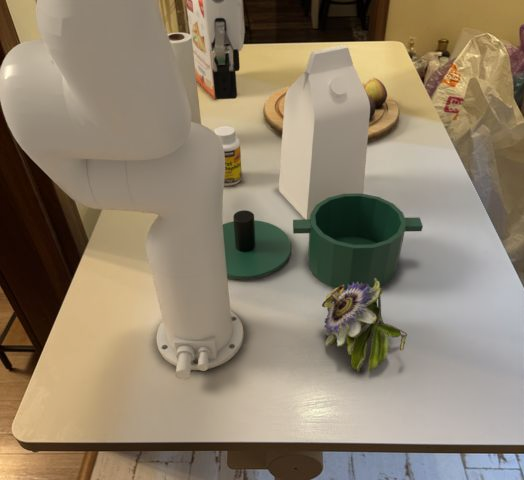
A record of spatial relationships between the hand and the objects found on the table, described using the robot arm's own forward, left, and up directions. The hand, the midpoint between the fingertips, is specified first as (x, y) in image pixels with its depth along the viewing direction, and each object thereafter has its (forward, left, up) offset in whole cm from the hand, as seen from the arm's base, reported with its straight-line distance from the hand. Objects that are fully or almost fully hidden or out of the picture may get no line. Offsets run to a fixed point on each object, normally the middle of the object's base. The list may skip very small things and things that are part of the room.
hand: (228, 83), depth 80 cm
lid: (-12, -2, -23) cm, 26 cm away
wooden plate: (+40, -21, -23) cm, 51 cm away
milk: (+5, -16, -23) cm, 28 cm away
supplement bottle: (+12, +2, -23) cm, 26 cm away
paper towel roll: (+28, +12, -23) cm, 38 cm away
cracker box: (+58, +8, -23) cm, 63 cm away
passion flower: (-33, -19, -23) cm, 45 cm away
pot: (-15, -20, -23) cm, 34 cm away
